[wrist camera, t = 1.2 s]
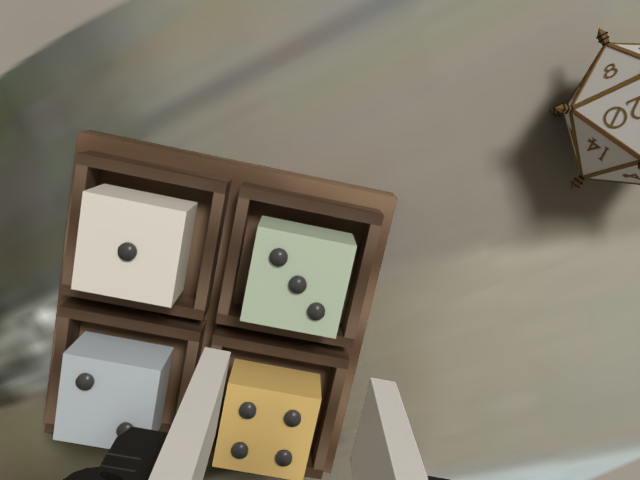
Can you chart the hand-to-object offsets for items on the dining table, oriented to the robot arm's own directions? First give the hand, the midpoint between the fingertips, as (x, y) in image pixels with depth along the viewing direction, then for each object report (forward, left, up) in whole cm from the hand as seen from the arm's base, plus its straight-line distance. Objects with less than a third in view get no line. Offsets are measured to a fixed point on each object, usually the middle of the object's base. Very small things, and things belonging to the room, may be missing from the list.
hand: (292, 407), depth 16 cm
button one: (0, +9, -15) cm, 17 cm away
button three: (0, 0, -15) cm, 15 cm away
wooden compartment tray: (-4, +4, -19) cm, 20 cm away
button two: (-9, +9, -15) cm, 19 cm away
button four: (-9, 0, -15) cm, 17 cm away
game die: (+12, -16, -19) cm, 27 cm away
